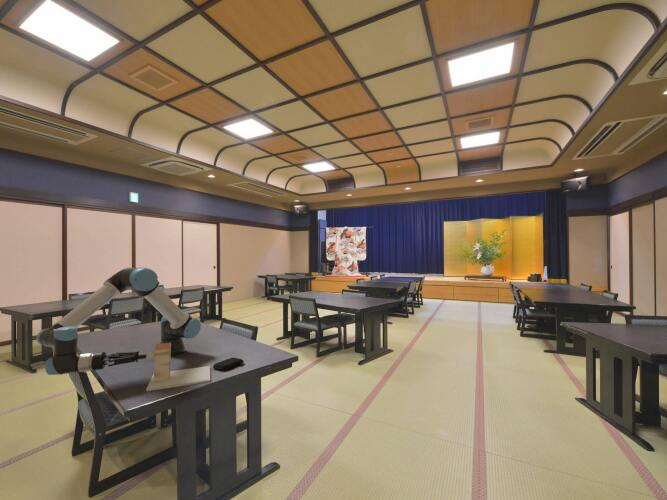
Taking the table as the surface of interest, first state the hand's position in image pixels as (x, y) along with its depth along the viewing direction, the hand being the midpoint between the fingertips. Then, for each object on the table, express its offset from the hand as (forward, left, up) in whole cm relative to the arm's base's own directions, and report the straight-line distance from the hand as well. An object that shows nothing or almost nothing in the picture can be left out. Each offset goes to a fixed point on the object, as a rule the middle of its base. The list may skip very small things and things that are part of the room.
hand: (154, 354), depth 142 cm
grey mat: (-6, +10, -13) cm, 17 cm away
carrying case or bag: (-24, +26, -14) cm, 37 cm away
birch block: (-2, +2, -12) cm, 12 cm away
